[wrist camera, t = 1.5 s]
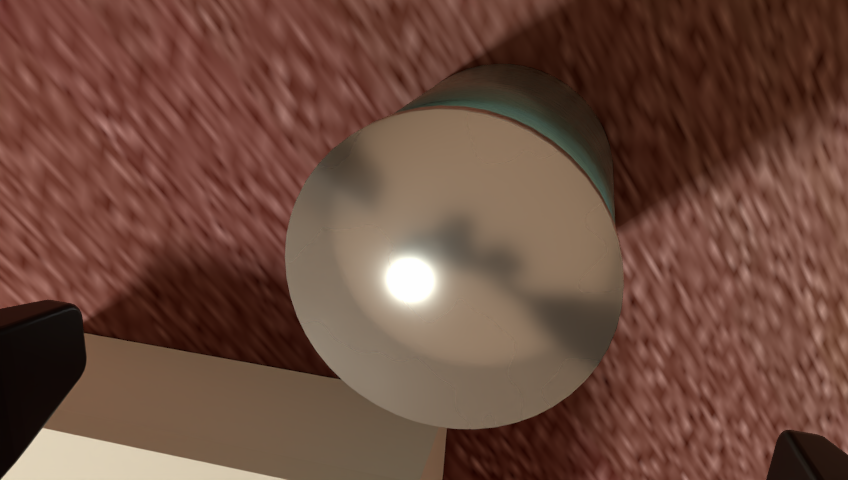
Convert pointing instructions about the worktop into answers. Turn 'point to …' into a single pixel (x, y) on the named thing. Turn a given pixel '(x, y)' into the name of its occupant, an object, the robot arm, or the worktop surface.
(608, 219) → the tea tin
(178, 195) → the worktop surface
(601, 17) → the worktop surface
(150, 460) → the box
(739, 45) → the worktop surface
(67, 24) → the worktop surface
